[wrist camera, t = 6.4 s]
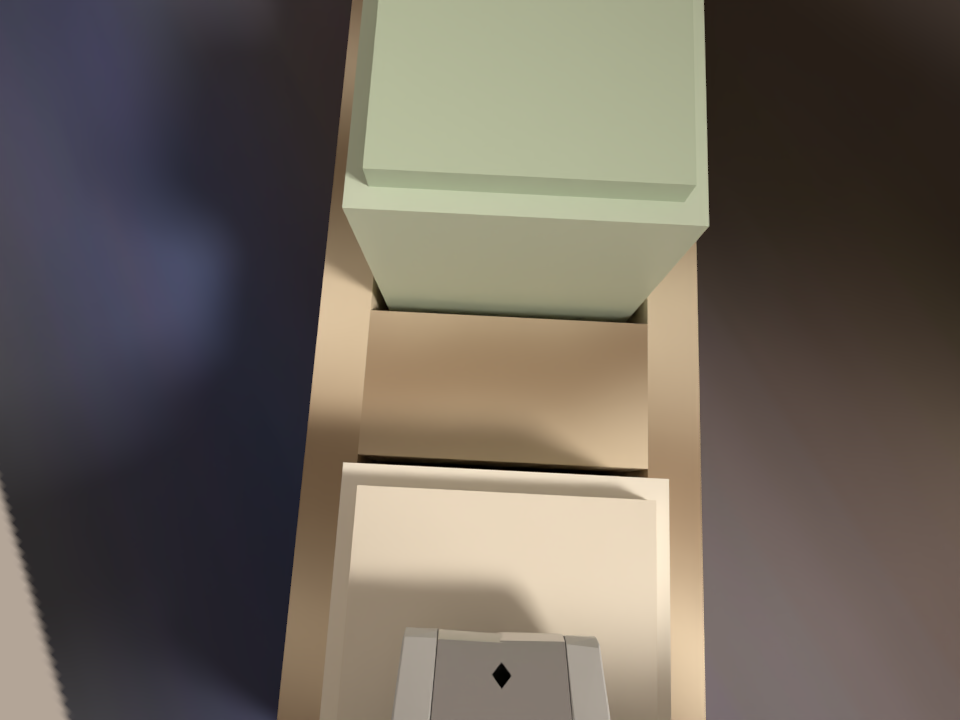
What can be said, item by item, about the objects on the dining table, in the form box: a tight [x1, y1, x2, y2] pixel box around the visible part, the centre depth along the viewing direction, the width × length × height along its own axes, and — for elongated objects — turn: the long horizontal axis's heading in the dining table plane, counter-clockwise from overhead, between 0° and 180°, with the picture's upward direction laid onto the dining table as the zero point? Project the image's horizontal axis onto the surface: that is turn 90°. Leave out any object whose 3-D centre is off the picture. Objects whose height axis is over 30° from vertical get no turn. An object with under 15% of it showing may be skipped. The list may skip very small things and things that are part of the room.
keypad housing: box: [277, 0, 706, 720], centre depth 19 cm, size 29×9×5 cm, turn 177°
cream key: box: [319, 462, 671, 720], centre depth 14 cm, size 6×6×7 cm
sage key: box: [342, 0, 709, 323], centre depth 14 cm, size 6×6×7 cm
